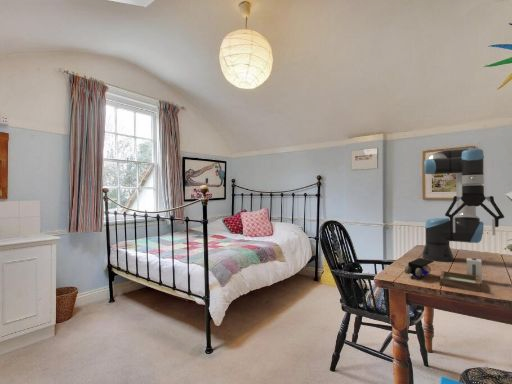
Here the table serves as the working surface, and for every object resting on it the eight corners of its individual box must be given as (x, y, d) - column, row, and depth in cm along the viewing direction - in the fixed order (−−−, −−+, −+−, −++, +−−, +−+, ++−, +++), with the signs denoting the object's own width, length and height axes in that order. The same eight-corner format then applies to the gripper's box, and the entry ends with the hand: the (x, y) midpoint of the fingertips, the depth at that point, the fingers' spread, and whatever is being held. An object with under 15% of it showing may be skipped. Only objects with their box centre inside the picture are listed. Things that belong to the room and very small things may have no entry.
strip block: (466, 277, 124) (466, 256, 124) (481, 279, 121) (480, 258, 121) (466, 280, 120) (466, 258, 120) (481, 283, 117) (481, 260, 117)
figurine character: (420, 284, 120) (434, 274, 129) (419, 267, 119) (433, 258, 128) (404, 281, 125) (419, 271, 134) (403, 264, 125) (418, 256, 134)
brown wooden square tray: (441, 277, 125) (441, 271, 125) (478, 283, 117) (478, 276, 117) (439, 285, 114) (439, 278, 114) (480, 292, 107) (480, 284, 107)
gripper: (437, 185, 125) (438, 232, 125) (512, 184, 110) (513, 237, 110) (439, 185, 131) (439, 230, 131) (510, 184, 116) (510, 234, 116)
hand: (473, 233), depth 121 cm, fingers open, 13 cm apart
